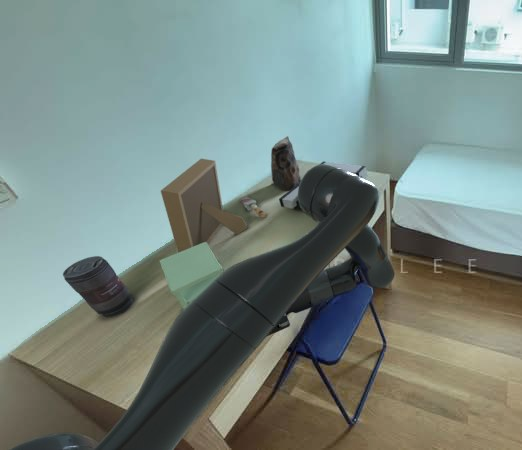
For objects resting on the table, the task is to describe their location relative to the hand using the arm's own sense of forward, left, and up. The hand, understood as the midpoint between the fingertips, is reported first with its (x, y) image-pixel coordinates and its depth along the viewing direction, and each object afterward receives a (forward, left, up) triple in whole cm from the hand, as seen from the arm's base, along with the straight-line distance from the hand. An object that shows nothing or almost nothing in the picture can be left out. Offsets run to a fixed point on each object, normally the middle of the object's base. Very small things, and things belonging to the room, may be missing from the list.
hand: (233, 317), depth 65 cm
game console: (+47, -50, -11) cm, 69 cm away
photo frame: (+50, -8, -11) cm, 51 cm away
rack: (+30, +3, -11) cm, 32 cm away
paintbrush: (+61, -24, -8) cm, 66 cm away
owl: (+72, -43, -11) cm, 85 cm away
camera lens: (+37, +22, -11) cm, 44 cm away
